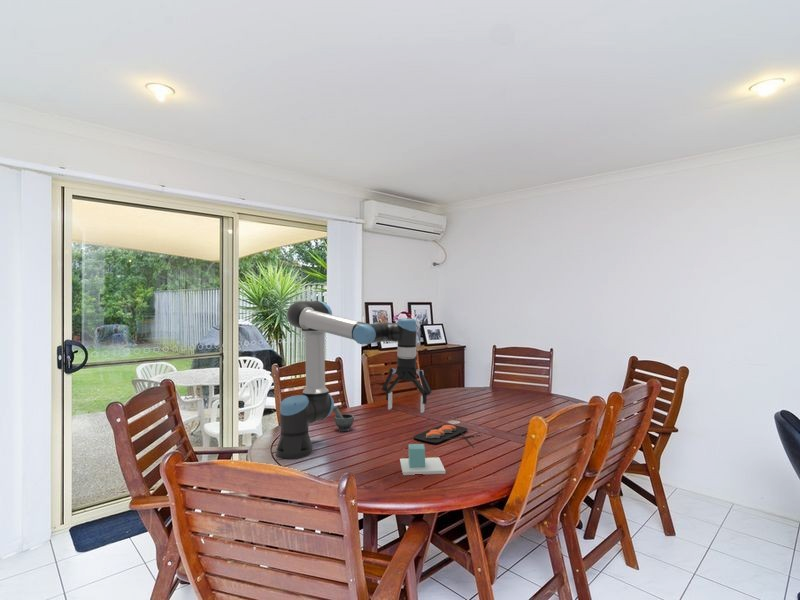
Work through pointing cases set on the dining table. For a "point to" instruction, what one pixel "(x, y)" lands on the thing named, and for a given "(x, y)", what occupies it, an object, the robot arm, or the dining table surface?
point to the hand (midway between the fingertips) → (406, 410)
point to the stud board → (430, 467)
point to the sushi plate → (442, 434)
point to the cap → (416, 455)
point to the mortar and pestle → (343, 420)
